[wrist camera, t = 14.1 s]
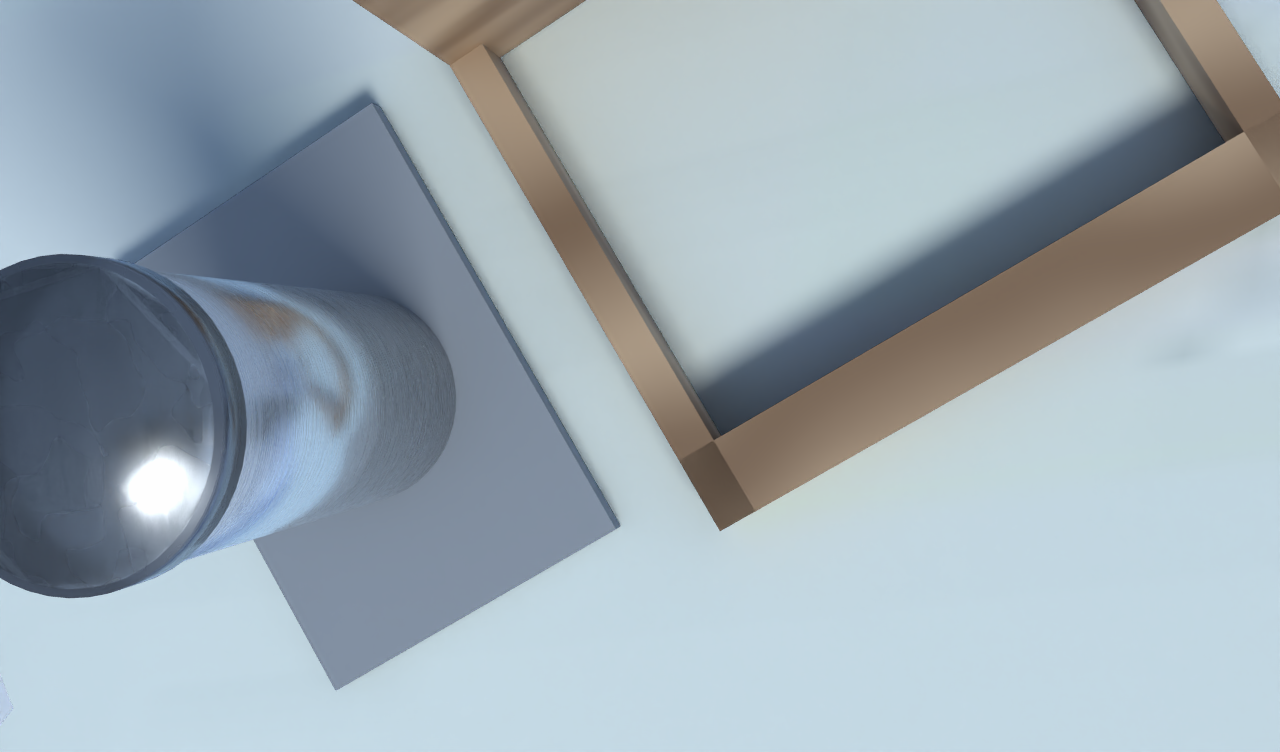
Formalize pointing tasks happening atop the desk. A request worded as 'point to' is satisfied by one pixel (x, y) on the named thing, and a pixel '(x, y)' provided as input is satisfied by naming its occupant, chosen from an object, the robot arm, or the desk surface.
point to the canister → (196, 415)
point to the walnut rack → (934, 346)
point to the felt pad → (483, 424)
